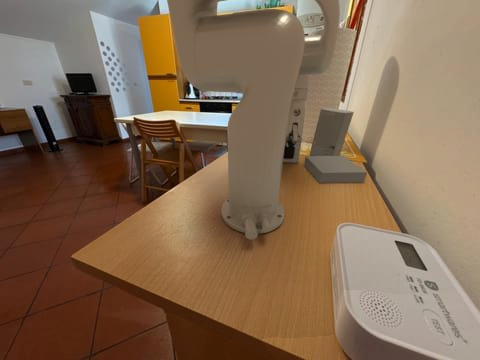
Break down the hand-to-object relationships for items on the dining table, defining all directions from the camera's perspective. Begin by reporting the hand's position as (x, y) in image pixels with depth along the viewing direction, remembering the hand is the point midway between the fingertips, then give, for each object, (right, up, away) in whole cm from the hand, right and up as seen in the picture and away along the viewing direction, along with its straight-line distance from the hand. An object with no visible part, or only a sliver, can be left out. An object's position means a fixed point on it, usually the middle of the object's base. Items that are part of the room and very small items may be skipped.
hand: (285, 154), depth 64 cm
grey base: (+11, -6, -7) cm, 15 cm away
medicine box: (0, -2, +1) cm, 2 cm away
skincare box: (+15, 0, +5) cm, 16 cm away
